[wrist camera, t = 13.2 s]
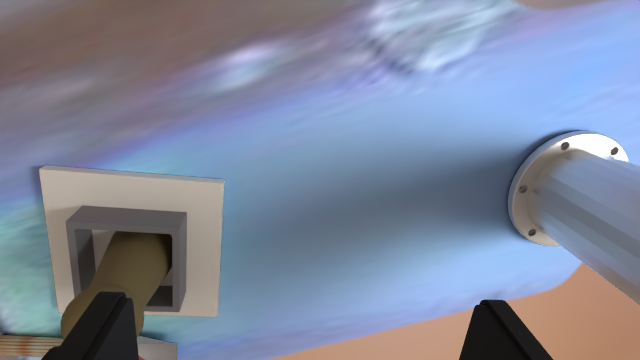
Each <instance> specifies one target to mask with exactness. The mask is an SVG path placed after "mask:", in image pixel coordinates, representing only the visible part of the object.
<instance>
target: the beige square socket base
mask: <svg viewBox="0 0 640 360" xmlns="http://www.w3.org/2000/svg"><path fill="white" fill-rule="evenodd" d="M39 174H40V181H41V188H42V195H43V203H44V210H45V217H46V224H47V232H48V239H49V246H50V254H51V261H52V268H53V275H54V283H55V290H56V297H57V304H58V312H59V313H64V311H65V309H66V307H67V306H68V304H69V303H70V302H71V301H72V300H73V299H74V298H75V297H76V296H77V295H78V294H79V293H81V292H82V291H83V290H86V289H88V288H89V287H90V284H91V282H92V280H93V278H94V276H95V273H96V271H97V269H98V267H99V265H100V262H101V260H102V258H103V256H104V254H105V251H106V249H107V247H108V245H109V243H110V240H111V238H112V236H113V234H114V233H115V232H116V231H126V232H143V233H161V234H170V235H171V236H172V268H171V269H170V271H169V272H168V274H167V275H166V277H165V278H164V280H163V281H162V283H161V284H160V285H159V287H158V288H157V290H156V291H155V293H154V294H153V296H152V297H151V299H150V300H149V302H148V303H147V305H146V306H145V308H144V315H153V316H195V317H217V314H218V305H219V284H220V264H221V243H222V223H223V203H224V182H225V179H213V178H200V177H188V176H175V175H163V174H150V173H137V172H125V171H112V170H100V169H87V168H75V167H62V166H50V165H45V166H43V167H42V168H40V169H39Z"/></svg>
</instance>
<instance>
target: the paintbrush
mask: <svg viewBox="0 0 640 360" xmlns="http://www.w3.org/2000/svg"><path fill="white" fill-rule="evenodd" d="M63 341H64V339H63V338H51V337H31V336H10V335H0V355H11V356H29V357H44V355H45V354H46V353H47V352H48V351H49V350H50V349H51V348H53V347H54V346H60V345H61V344H62V342H63ZM137 345H138V355H139V360H177V344H176V343H171V342H166V341H161V340H156V339H152V338H147V337H142V336H138V337H137Z"/></svg>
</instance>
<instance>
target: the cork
mask: <svg viewBox="0 0 640 360" xmlns="http://www.w3.org/2000/svg"><path fill="white" fill-rule="evenodd" d="M171 268H172V236H171V235H170V234H161V233H143V232H126V231H116V232H115V233H114V234H113V236H112V238H111V240H110V243H109V245H108V247H107V249H106V251H105V254H104V256H103V258H102V260H101V262H100V265H99V267H98V269H97V271H96V273H95V276H94V278H93V280H92V282H91V284H90V287H89V288H88V289H86V290H83V291H82V292H81V293H79V294H78V295H77V296H76V297H75V298H74V299H73V300H72V301H71V302H70V303H69V304H68V306H67V307H66V309H65V311H64V314H63V316H62V319H61V334H62V337H63V339H64V340H65V338H66V337H67V335H68V334H69V333H70V331H71V330H72V328H73V327H74V325H75V324H76V323H77V321H78V320H79V318H80V317H81V316H82V314H83V313H84V311H85V310H86V309H87V307H88V306H89V304H90V303H91V302H92V300H93V299H94V297H95V296H96V295H97V294H98V293H99V292H101V291H108V292H125V294H126V298H132V300H133V305H134V315H135V325H136V335H137V337H138V335H139V334H140V332H141V329H142V327H143V321H144V308H145V306H146V305H147V303H148V302H149V300H150V299H151V297H152V296H153V294H154V293H155V291H156V290H157V288H158V287H159V285H160V284H161V283H162V281H163V280H164V278H165V277H166V275H167V274H168V272H169V271H170V269H171Z"/></svg>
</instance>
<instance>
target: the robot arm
mask: <svg viewBox="0 0 640 360" xmlns="http://www.w3.org/2000/svg"><path fill="white" fill-rule="evenodd" d="M508 212H509V216H510V219H511V221H512V223H513V225H514V227H515V228H516V229H517V230H518V231H519V232H520V233H521V234H522V235H523V236H524V237H525V238H527V239H528V240H530V241H532V242H534V243H536V244H540V245H543V246H562V247H564V248H565V249H566V250H568V251H569V252H570V253H572V254H573V255H574V256H575V257H577V258H578V259H579V260H581V261H582V262H583V263H585V264H586V265H587V266H589V267H590V268H591V269H593V270H594V271H595V272H597V273H598V274H599V275H600V276H602V277H603V278H604V279H606V280H607V281H608V282H610V283H611V284H612V285H614V286H615V287H616V288H618V289H619V290H620V291H622V292H623V293H624V294H626V295H627V296H628V297H629V298H631V299H632V300H634V301H635V302H636V303H637V304H639V305H640V167H639V166H637V165H634V164H632V163H629V160H628V157H627V154H626V153H625V151H624V149H623V148H622V146H621V145H619V144H618V143H617V142H616V141H615V140H614V139H612V138H610V137H608V136H606V135H603V134H599V133H596V132H591V131H574V132H569V133H566V134H562V135H559V136H557V137H555V138H553V139H551V140H549V141H547V142H546V143H544V144H543V145H541V146H540V147H538V148H537V149H536V150H535V151H534V152H533V153H532V154H531V155H529V156H528V158H527V159H526V160H525V161H524V162H523V164H522V165H521V166H520V168H519V169H518V171H517V173H516V175H515V176H514V178H513V181H512V184H511V186H510V190H509V195H508ZM41 360H139V355H138V345H137V335H136V325H135V315H134V305H133V300H132V298H126V294H125V292H108V291H101V292H99V293H98V294H97V295H96V296H95V297H94V299H93V300H92V302H91V303H90V304H89V306H88V307H87V309H86V310H85V311H84V313H83V314H82V316H81V317H80V318H79V320H78V321H77V323H76V324H75V325H74V327H73V328H72V330H71V331H70V333H69V334H68V335H67V337H66V338H65V340H64V341H63V342H62V344H61V345H60V346H54V347H53V348H51V349H50V350H49V351H48V352H47V353H46V354H45V355H44V357H43V358H42V359H41ZM459 360H553V359H552V358H551V356H550V355H549V354H548V353H547V351H546V350H545V349H544V348H543V347H542V345H541V344H540V343H539V342H538V340H537V339H536V338H535V337H534V336H533V334H532V333H531V332H530V331H529V329H528V328H527V327H526V326H525V324H524V323H523V322H522V321H521V319H520V318H519V317H518V316H517V315H516V313H515V312H514V311H513V310H512V308H511V307H510V306H509V305H508V303H506V302H505V301H503V300H482V301H481V302H480V304H479V305H476V306H475V308H474V311H473V314H472V317H471V321H470V324H469V328H468V331H467V334H466V338H465V341H464V345H463V348H462V352H461V355H460V358H459Z"/></svg>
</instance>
